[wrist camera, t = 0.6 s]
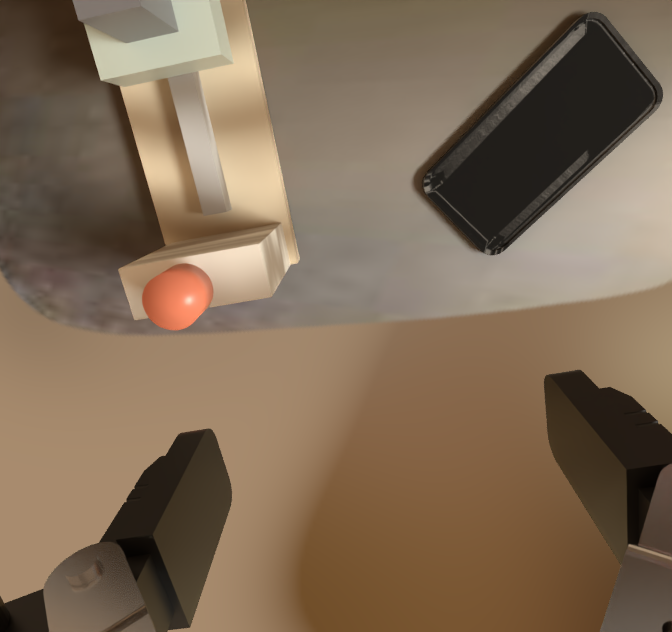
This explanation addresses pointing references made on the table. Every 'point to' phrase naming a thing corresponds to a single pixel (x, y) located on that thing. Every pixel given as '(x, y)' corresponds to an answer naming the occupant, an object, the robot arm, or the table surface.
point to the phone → (544, 134)
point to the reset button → (177, 296)
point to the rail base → (232, 140)
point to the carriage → (154, 38)
